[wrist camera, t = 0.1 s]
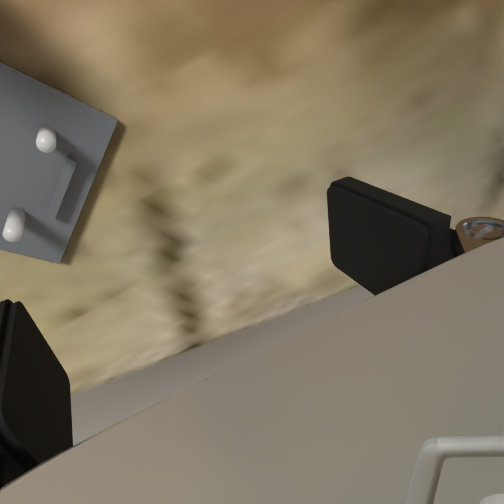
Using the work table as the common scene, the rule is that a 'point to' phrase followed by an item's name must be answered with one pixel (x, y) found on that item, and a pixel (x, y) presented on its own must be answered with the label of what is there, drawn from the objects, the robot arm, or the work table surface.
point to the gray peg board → (45, 163)
